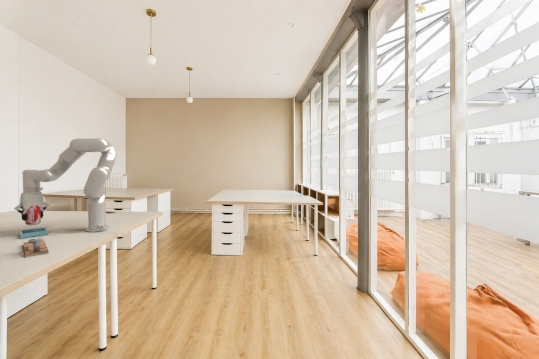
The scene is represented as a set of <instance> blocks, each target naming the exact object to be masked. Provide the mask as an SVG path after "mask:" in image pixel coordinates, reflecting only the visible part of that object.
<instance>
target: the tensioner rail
mask: <svg viewBox="0 0 539 359" xmlns="http://www.w3.org/2000/svg"><path fill="white" fill-rule="evenodd" d="M43 241H44V248H41V249H40V241H39V240H38V241H33V250H28V241H25V242H22V243H23V250H24V254H25V258H29V257H30V258H31V257H36V256H39V255H40V256H41V255H46V254H47V255H48V254H49V249H48V246H47V244H46V241H45V239H44V238H43Z"/></svg>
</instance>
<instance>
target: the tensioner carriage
mask: <svg viewBox="0 0 539 359" xmlns="http://www.w3.org/2000/svg"><path fill="white" fill-rule="evenodd" d="M43 239H44V238H43V237H33V238H31V239H28V241H27V242H28V250H33V241H38V240H39V241H40V249H41V248H44V241H45V240H44V241H43Z"/></svg>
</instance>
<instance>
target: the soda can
mask: <svg viewBox="0 0 539 359" xmlns="http://www.w3.org/2000/svg"><path fill="white" fill-rule="evenodd" d="M26 214H27V220H26V221H24V223H25V225H27V226H36V225H39V224H41V223H42V222H41V221H42V220H41V219H42V218H41V210H40V207H39V206H38V205H33V206H31V207H30V208H29V209H27V212H26Z"/></svg>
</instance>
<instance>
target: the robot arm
mask: <svg viewBox="0 0 539 359" xmlns="http://www.w3.org/2000/svg"><path fill="white" fill-rule="evenodd" d="M86 153H101V155H100V157H99V159H98V162H97V165H96V167H94V168H92V169H91V171H90V172H89V174H88V177H87V179H86V182H85V184H84V187H83V194H84V195H85V197H87V217H88V218H87V220H88V221H87V222H88V223H87V224H88V227H86V228H85V232H88V233H89V232H90V233H91V232H92V233H94V232H97V233H98V232H102V231H106V230H108V229H109V225H108V224H107V222H106V221H107V218H106V217H107V216H106V215H107V214H106V192H107V191H106V186H105V184H106V183H107V182H106V181H107V180H108V179H109V178H110V176H111V173H112V170H113V168H114V164H115V162H116V159H117V150H116V147H115V146H114V145H113V143H111V142H110V141H108V140H107V139H105V138H100V137H96V138H94V137H93V138H87V137H86V138H80V137H79V138H74V139H72V140H71V141H70V142H69V146H68V147H67V148H65V150H63V151H62V152H61V153H60V154H59V155H58V159H57V161H56V162H55V163H54V164H53V165H52V166H51V167H49V168H48V169H39V170H38V169H24V170H23V171H22V192H21V193H20V197H19V203H18V205H16V206H15V207H14V208H13V209H14V210H15V211H17V212H18V213H19V214H21V220H22V221H24V222H25V221H26V220H27V214H26V212H27V209H29V208H30V207H31V206H33V205H38V206H39V207H40V210H41V219H44V212H45V211H46V209H47V208H48V207H49V206H50V204H49V203H47V202H45V201H44V200H45V199H44V196H43V192H42V191H43V190H44V187H41V182H42V183H49V182H54V181H56V180H59V178H61V177H62V176H63V175H64V174H65V173H66V172H67V171H68V170H69V169H70V168H71V167H72V165H74V164H75V163H76V162H77V161H78V160H79V159H80V158H82V156H84V155H85V154H86Z"/></svg>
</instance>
